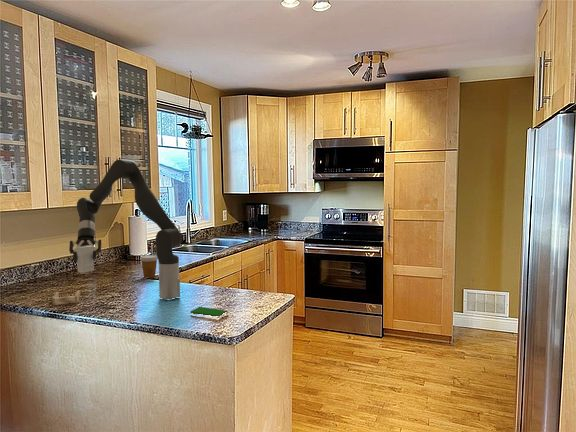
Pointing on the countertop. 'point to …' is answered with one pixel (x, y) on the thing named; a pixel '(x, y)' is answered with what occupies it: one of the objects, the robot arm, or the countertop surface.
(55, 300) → the u-shaped wooden frame
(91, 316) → the countertop surface
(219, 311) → the dish sponge
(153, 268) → the disposable coffee cup
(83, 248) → the skincare box
